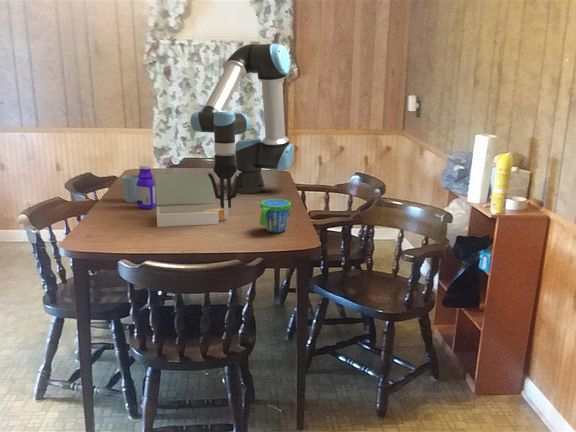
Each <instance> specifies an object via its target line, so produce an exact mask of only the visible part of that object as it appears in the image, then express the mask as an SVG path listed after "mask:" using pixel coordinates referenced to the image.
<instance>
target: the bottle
mask: <svg viewBox="0 0 576 432" xmlns="http://www.w3.org/2000/svg"><path fill="white" fill-rule="evenodd" d="M137 175H138V177H139V179H138V181H137V202H136V203H137V207H138V208H139V209H143V210H152V209H154V208H155V207H156V206H157V203H156V181H155V179H154V178H153V177H154V175H153V173H152V170H151V164H146V163H145V164H143V163H142V164H140V165H139V173H138V174H137Z"/></svg>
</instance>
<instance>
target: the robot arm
mask: <svg viewBox="0 0 576 432" xmlns="http://www.w3.org/2000/svg"><path fill="white" fill-rule="evenodd" d="M290 66H291V59H290V53H289V52H288V49H287V48H286V47H285V45H282V44H275V43H259V44H257V43H247V44H245V45H243V46H241V47H239V48H238V49H237V50H235V51H234V52H233V53H232V54H231V55H230V56H229V57H228V59H227V60H226V62H225V63H224V70H223V73H222V74H221V76H220V78H219V80H218V82H217V83H216V85H215V87H214V88H213V90H212V92H211V94H210V95H209V97H208V99H207V101H206V103H205V104H204V107H203V108H202V110H201V111H194V112H193V113H192V115H191V116H190V126H191V128H192V130H193V131H194V132H199V133H214V134H213V136H214V138H213V139H214V141H213V144H214V147H213V149H214V153H215V155H214V167H213V170H212V171H209V172H208V176H209V177H210V179H211V182H212V186H213V189H214V193H215V199H219V200H220V204H219V205H220V209H222V210H223V211H224V218H229V209H230V208H232V199H235V198H236V197H237V193H241V194H257V193H261V192H265V190H266V184H265V180H264V177H263V174H262V169H263V170H264V169H265V170H271V171H272V170H273V171H274V170H275V171H287V170H289V169H290V167H291V166H292V164H293V160H294V157H295V147H294V145H293V144H292V143H290V139H289V137H287V136H286V129H285V126H286V125H285V109H284V108H285V107H284V91H283V90H284V88H283V87H284V86H283V81H284V80H285V78H286V74H288V73H290ZM251 73H252V74H257V80H259V82H261V89H262V90H261V91H262V103H263V105H262V106H263V107H262V108H263V117H264V119H263V120H264V132H265V133H264V135H265V137H264V138H263V139H262V138H258V137H257V138H247V139H241V140H238V141H237V142H236V135H237V136H238V135H242V134H245V133H246V132H248V130H249V129H250V128H251V120H250V117H249V116H248V115H247V114H246V113H241V112H239V113H238V112H236V113H235V112H234V111H233V110H228V109H227V107H228V105H229V102H230V101H231V99H232V97H233V95H234V93H235V92H236V89H237V88H238V86H239V84H240V82H241V81H242V80H243V79H245V78H246V76H247V74H251ZM226 109H227V110H226ZM214 174H215V175H214ZM216 176H217V177H218V179H219V191H218V188H217V183H216V179H215V180H214V177H215V178H216ZM233 177H234V178H233ZM232 179H233V181H232ZM225 180H226V198H225Z"/></svg>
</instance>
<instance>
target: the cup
mask: <svg viewBox="0 0 576 432" xmlns="http://www.w3.org/2000/svg"><path fill="white" fill-rule="evenodd" d="M138 175H139V174H129V175H122V177H121V182H122V186H123V187H122V188H123V193H124V199H125V202H126V203H137V181H138V179H139V177H138Z"/></svg>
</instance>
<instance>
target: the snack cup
mask: <svg viewBox="0 0 576 432" xmlns="http://www.w3.org/2000/svg"><path fill="white" fill-rule="evenodd" d="M259 206H260V208H261V213H260V219H259V225H260V226H261V227H264V230H266V231H267V232H269V233H275V234H276V233H282V232H284V231H286V230H287V226H288V219H289V217H290V216H291V207H292V203H291V201H289V200H286V199H281V198H271V199H270V198H269V199H264V200H262V201H261V202H260V203H259Z"/></svg>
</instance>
